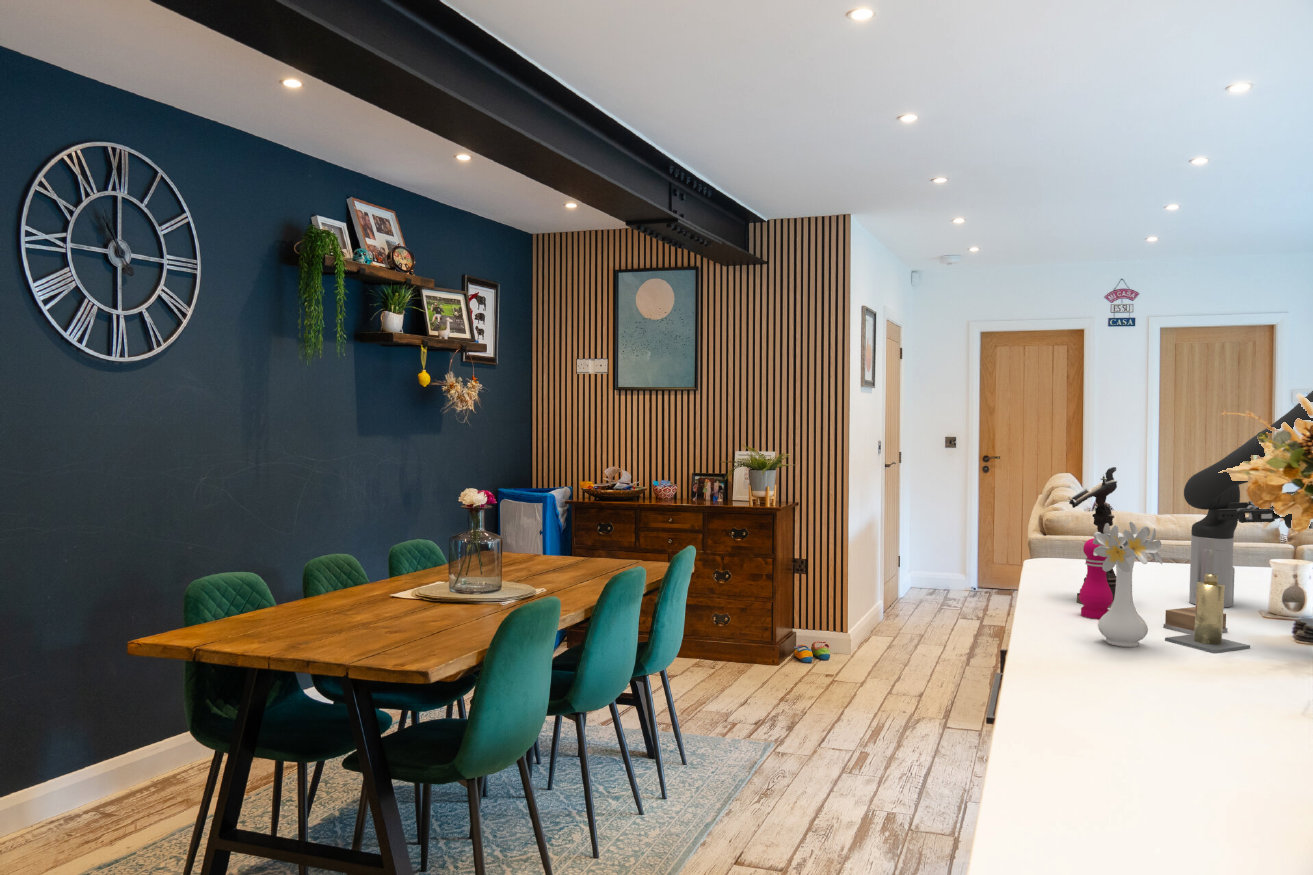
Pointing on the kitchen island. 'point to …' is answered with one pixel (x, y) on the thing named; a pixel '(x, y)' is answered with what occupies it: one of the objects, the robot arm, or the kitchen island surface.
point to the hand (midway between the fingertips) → (1222, 511)
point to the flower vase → (1124, 581)
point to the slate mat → (1213, 648)
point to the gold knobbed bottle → (1209, 610)
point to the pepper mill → (1095, 584)
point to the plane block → (1184, 620)
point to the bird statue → (1100, 514)
